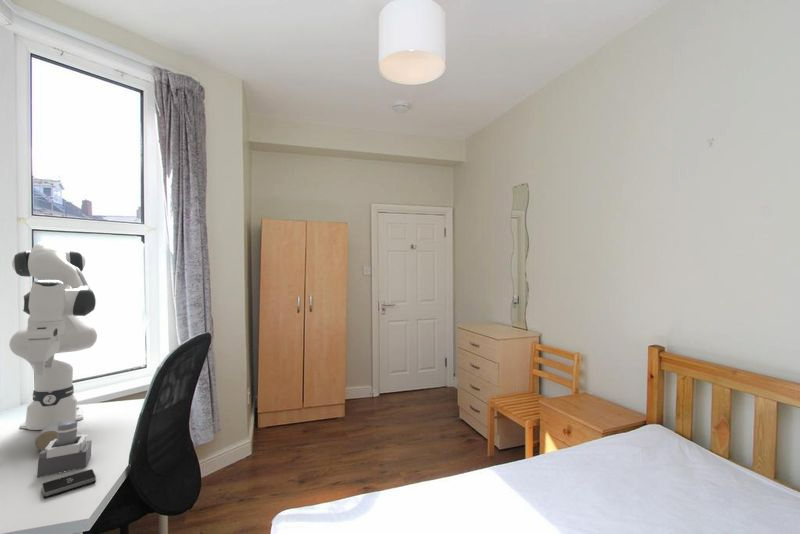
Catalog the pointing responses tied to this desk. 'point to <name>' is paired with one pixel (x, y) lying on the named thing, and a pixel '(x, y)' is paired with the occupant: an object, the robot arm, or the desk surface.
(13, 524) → the desk surface
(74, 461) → the camera body
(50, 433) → the ceramic mug
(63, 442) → the lens
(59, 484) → the external hard drive
